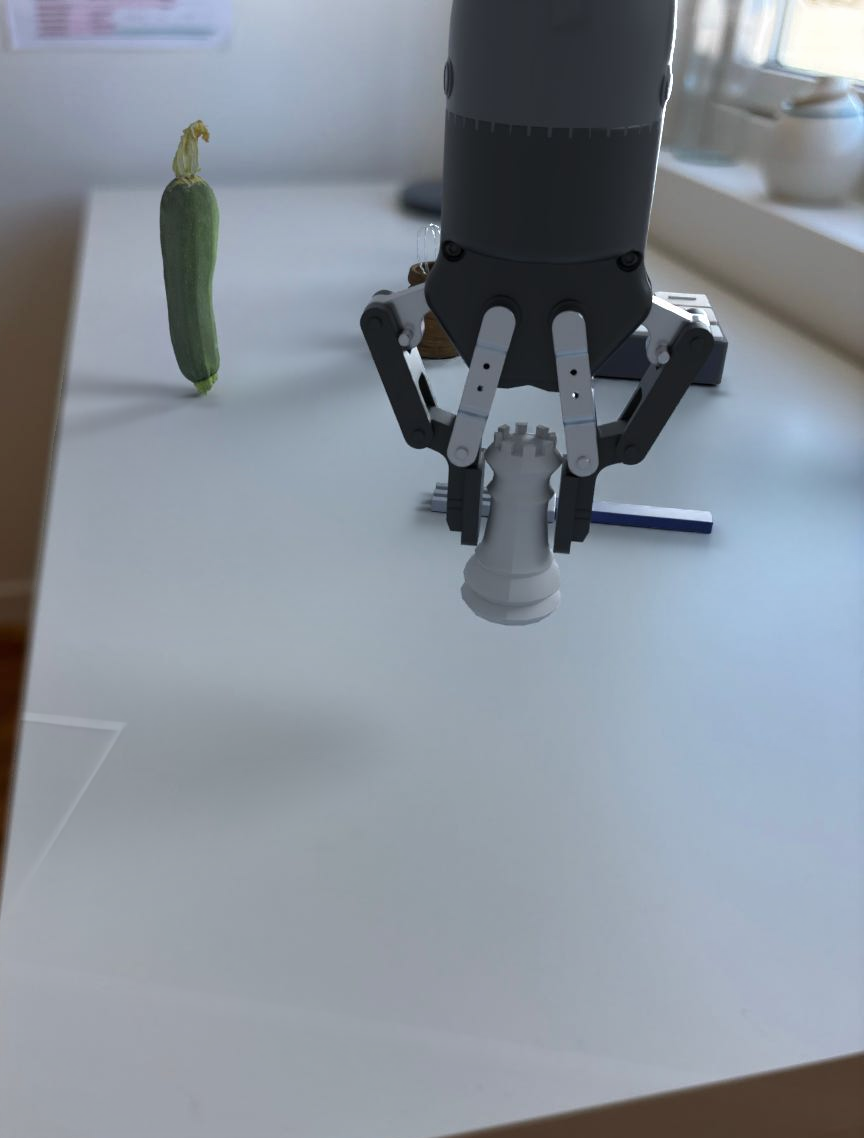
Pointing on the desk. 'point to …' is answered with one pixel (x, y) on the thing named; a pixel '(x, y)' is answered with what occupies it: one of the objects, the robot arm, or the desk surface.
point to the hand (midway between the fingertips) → (515, 539)
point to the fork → (610, 513)
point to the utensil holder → (430, 314)
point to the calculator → (633, 352)
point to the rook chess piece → (516, 532)
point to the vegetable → (191, 262)
